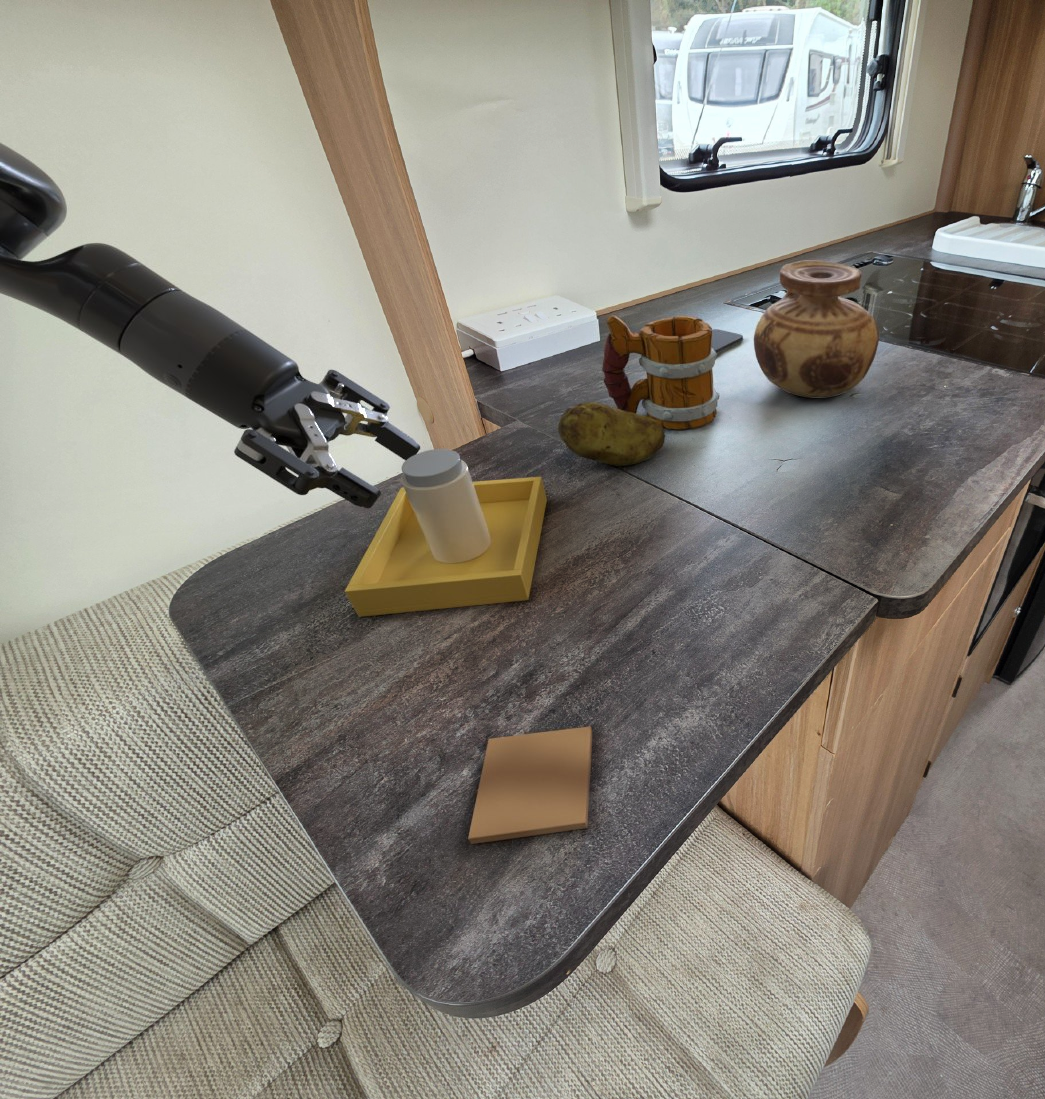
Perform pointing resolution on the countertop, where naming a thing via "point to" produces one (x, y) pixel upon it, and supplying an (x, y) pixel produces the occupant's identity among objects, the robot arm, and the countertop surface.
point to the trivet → (533, 785)
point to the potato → (610, 434)
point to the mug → (664, 370)
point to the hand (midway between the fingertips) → (397, 476)
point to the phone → (724, 339)
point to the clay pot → (816, 332)
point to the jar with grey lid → (446, 505)
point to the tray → (426, 584)
